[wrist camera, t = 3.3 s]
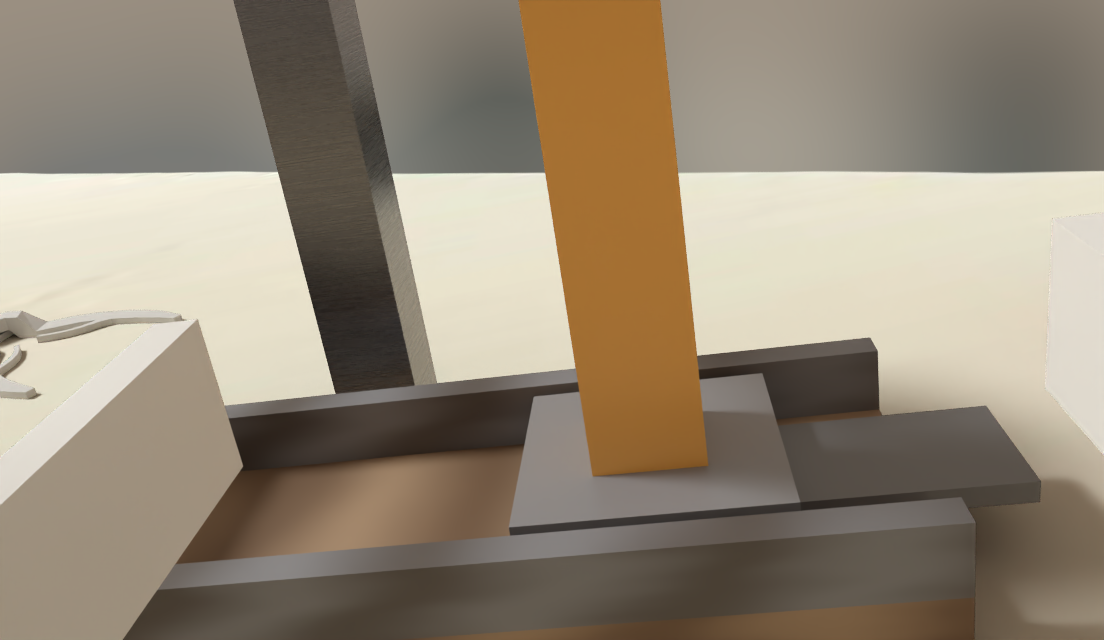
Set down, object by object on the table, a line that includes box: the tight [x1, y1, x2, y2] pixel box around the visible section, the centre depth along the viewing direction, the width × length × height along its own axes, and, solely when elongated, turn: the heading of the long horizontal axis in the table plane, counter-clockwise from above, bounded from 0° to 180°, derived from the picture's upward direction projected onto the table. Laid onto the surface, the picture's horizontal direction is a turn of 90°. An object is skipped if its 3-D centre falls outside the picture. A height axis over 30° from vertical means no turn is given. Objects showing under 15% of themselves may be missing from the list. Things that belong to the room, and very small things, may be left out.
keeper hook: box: [234, 0, 437, 394], centre depth 30 cm, size 3×12×19 cm, turn 176°
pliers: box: [0, 310, 182, 399], centre depth 53 cm, size 10×2×15 cm
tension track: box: [123, 338, 976, 640], centre depth 28 cm, size 26×10×5 cm, turn 86°
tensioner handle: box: [509, 0, 1041, 536], centre depth 24 cm, size 13×7×15 cm, turn 86°
